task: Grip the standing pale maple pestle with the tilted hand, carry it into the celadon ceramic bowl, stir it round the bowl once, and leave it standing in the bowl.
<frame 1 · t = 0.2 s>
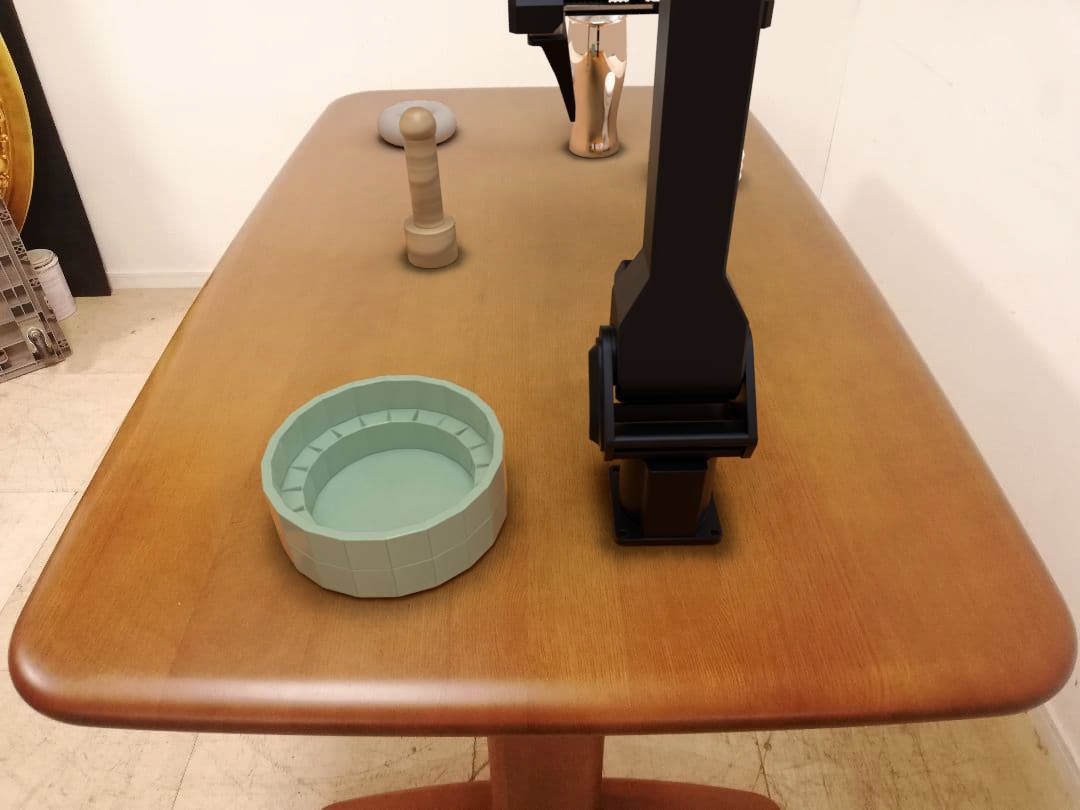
hand: (630, 119, 62), 15 cm above the table, tool pointing down, fingers open, 9 cm apart
pestle: (433, 256, 75), on the table
coaster: (695, 179, 88), on the table
bowl: (396, 510, 50), on the table
beer glass: (593, 149, 95), on the table
donut: (418, 137, 99), on the table
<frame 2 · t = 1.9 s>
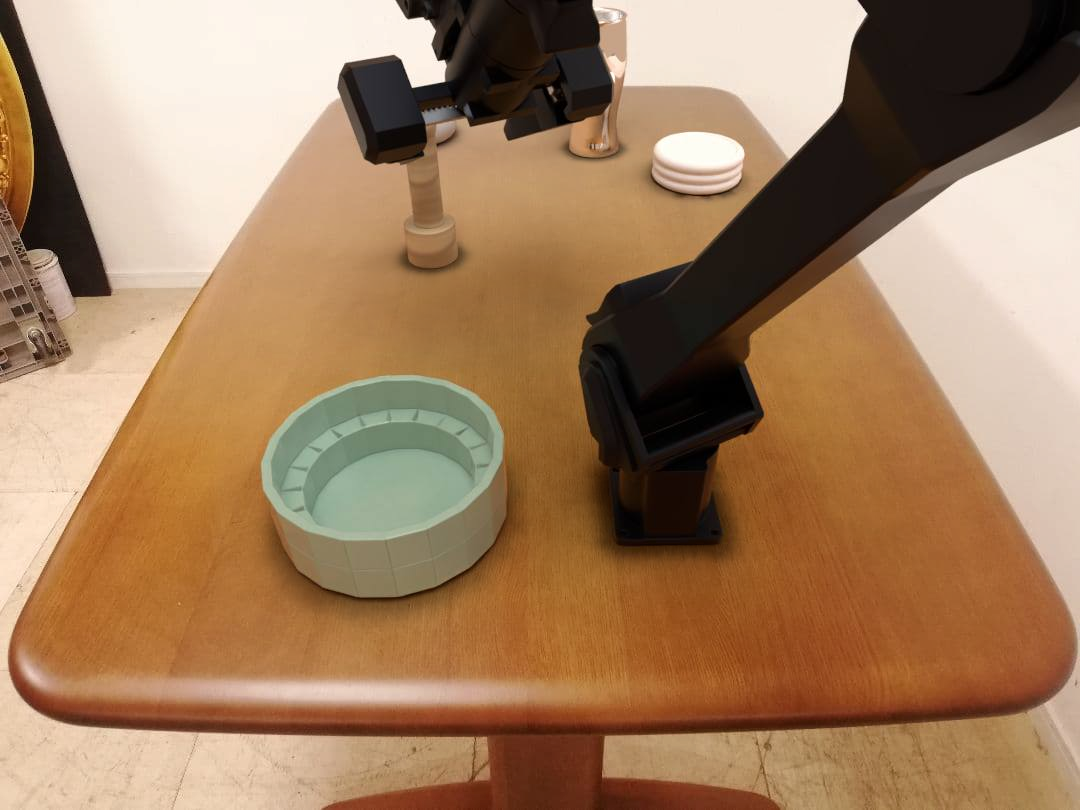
hand: (455, 146, 61), 13 cm above the table, tool tilted 45°, fingers open, 9 cm apart
nothing on the table moved.
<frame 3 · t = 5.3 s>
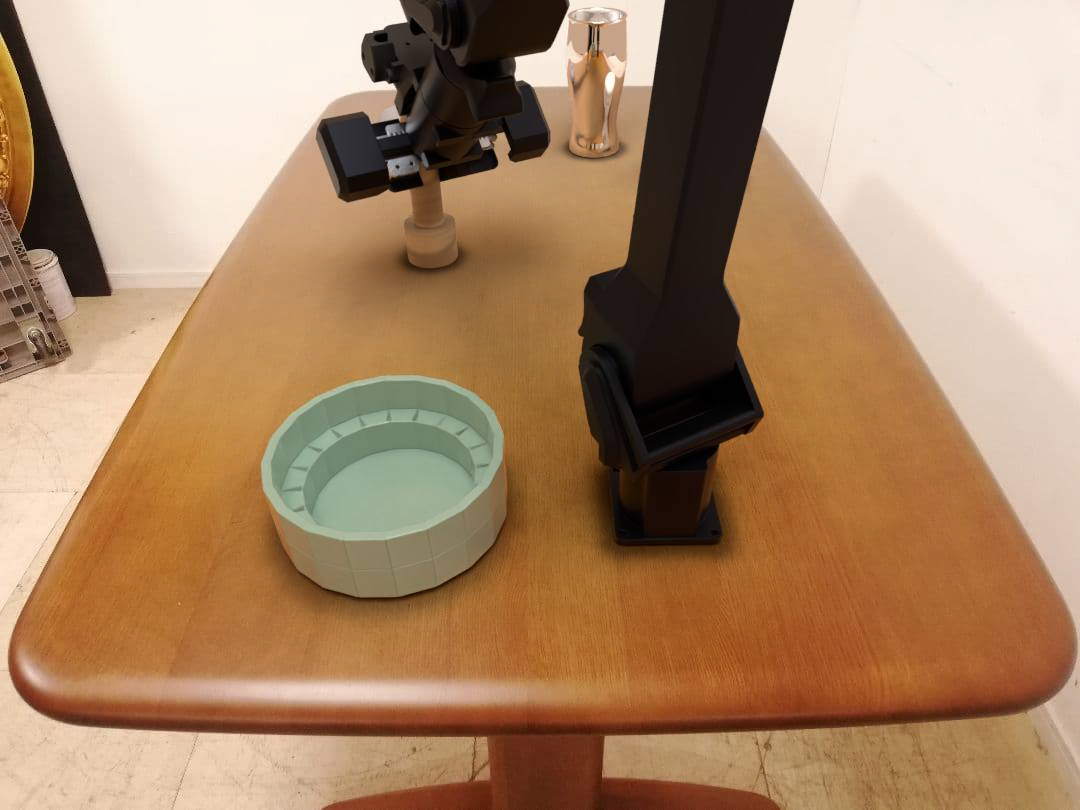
hand: (419, 181, 72), 7 cm above the table, tool tilted 45°, fingers closed on pestle, 3 cm apart
pestle: (433, 256, 75), on the table, touching gripper
everything else where it was.
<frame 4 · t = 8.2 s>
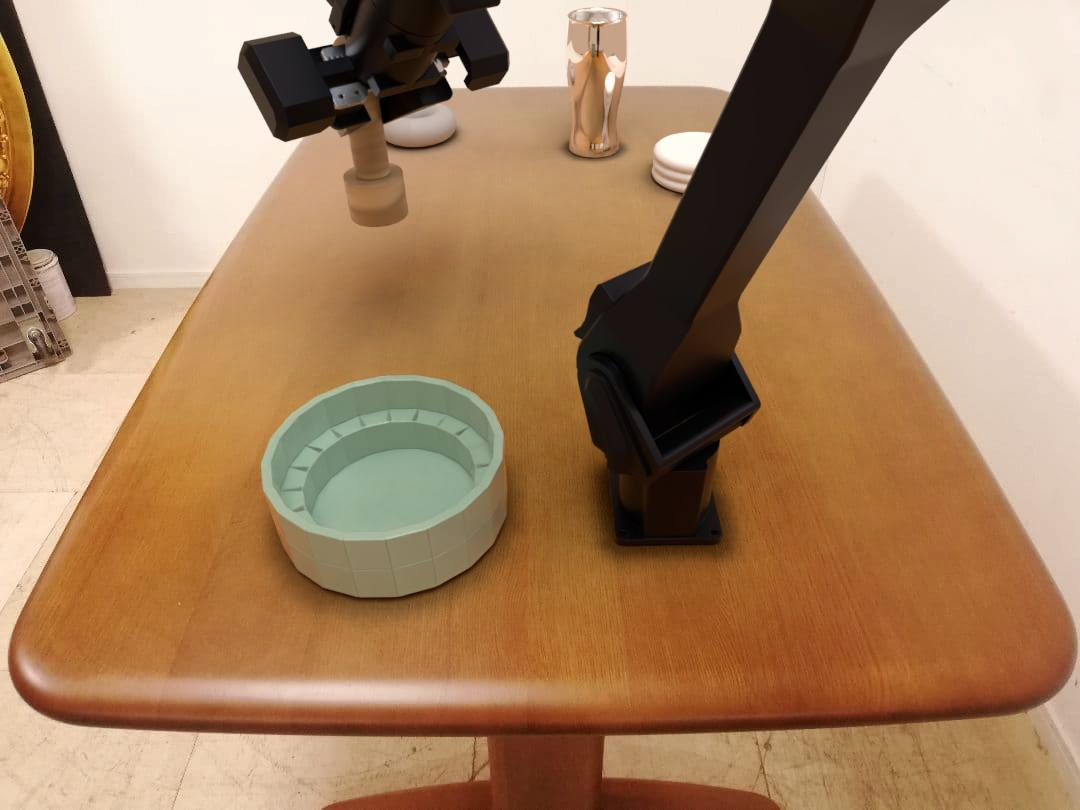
hand: (357, 126, 62), 15 cm above the table, tool tilted 45°, fingers closed on pestle, 3 cm apart
pestle: (379, 214, 65), point 8 cm above the table, touching gripper
everything else where it was.
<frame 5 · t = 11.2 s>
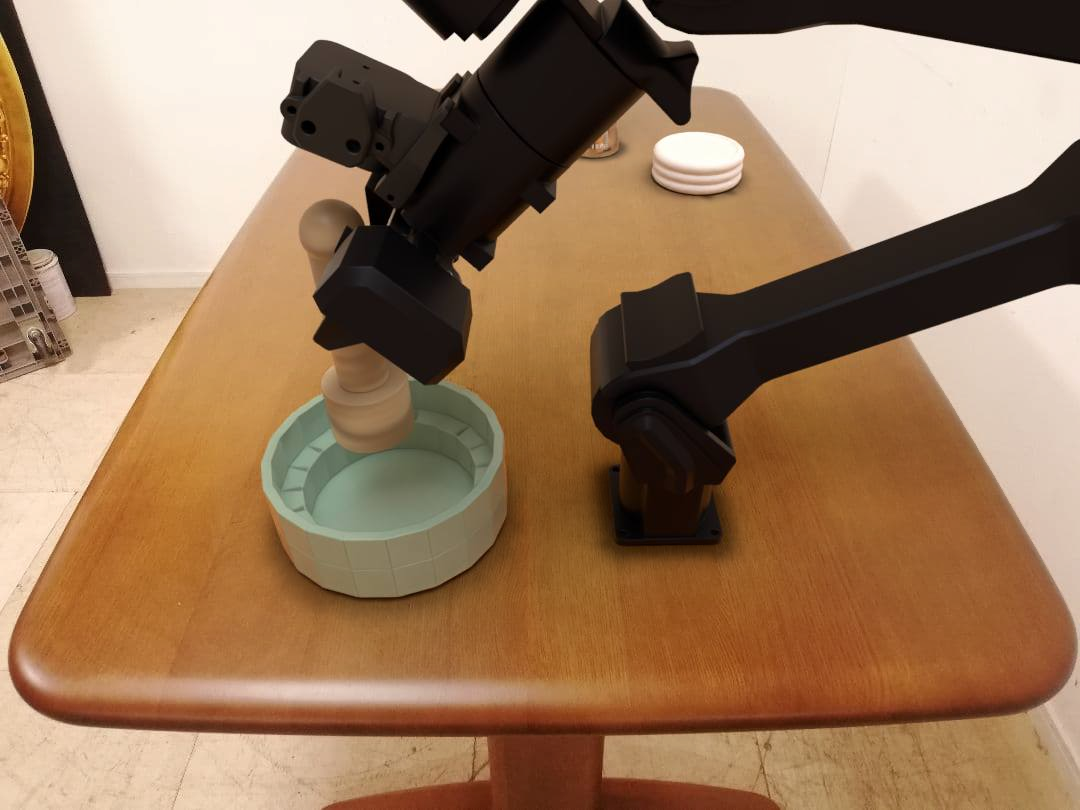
hand: (328, 326, 42), 14 cm above the table, tool tilted 45°, fingers closed on pestle, 3 cm apart
pestle: (374, 425, 46), point 7 cm above the table, touching gripper
everything else where it was.
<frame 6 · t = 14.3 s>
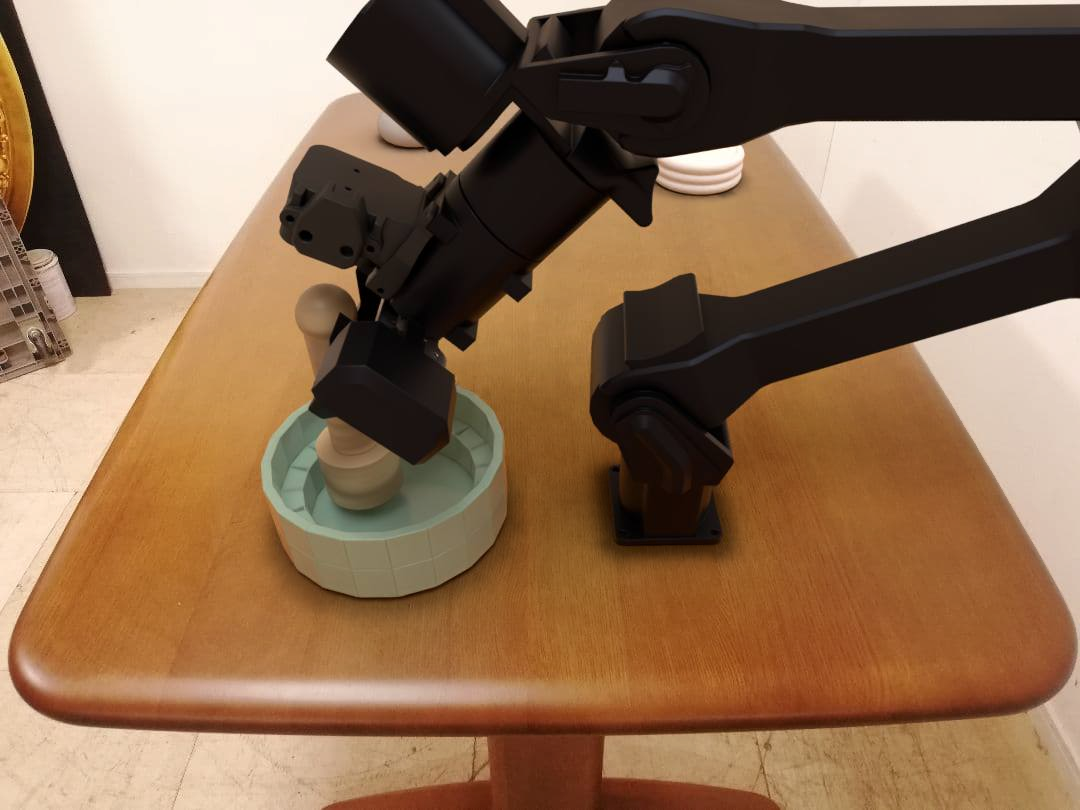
hand: (322, 395, 45), 9 cm above the table, tool tilted 45°, fingers closed on pestle, 3 cm apart
pestle: (365, 481, 49), point 2 cm above the table, touching gripper
everything else where it was.
when the fingers open (8 cm above the table, at t = 17.4 s): pestle stays where it is, resting on bowl.
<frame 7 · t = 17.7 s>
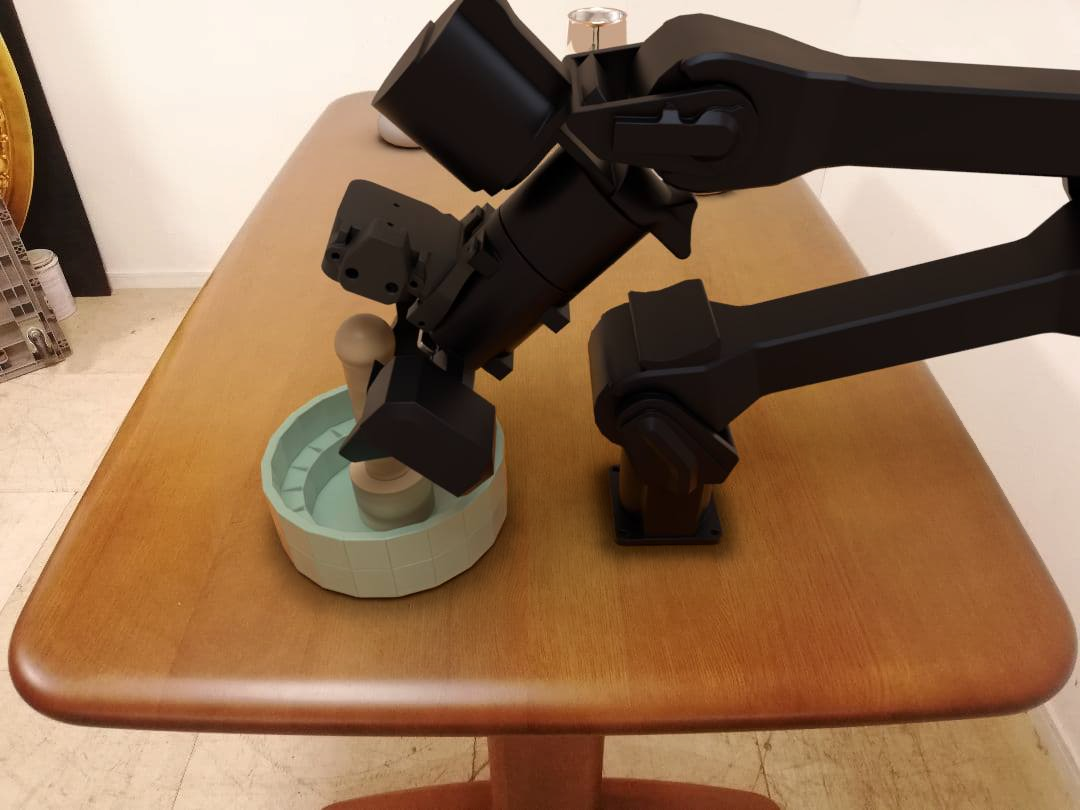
hand: (355, 422, 45), 8 cm above the table, tool tilted 45°, fingers open, 5 cm apart
pestle: (397, 505, 50), resting on bowl
everything else where it was.
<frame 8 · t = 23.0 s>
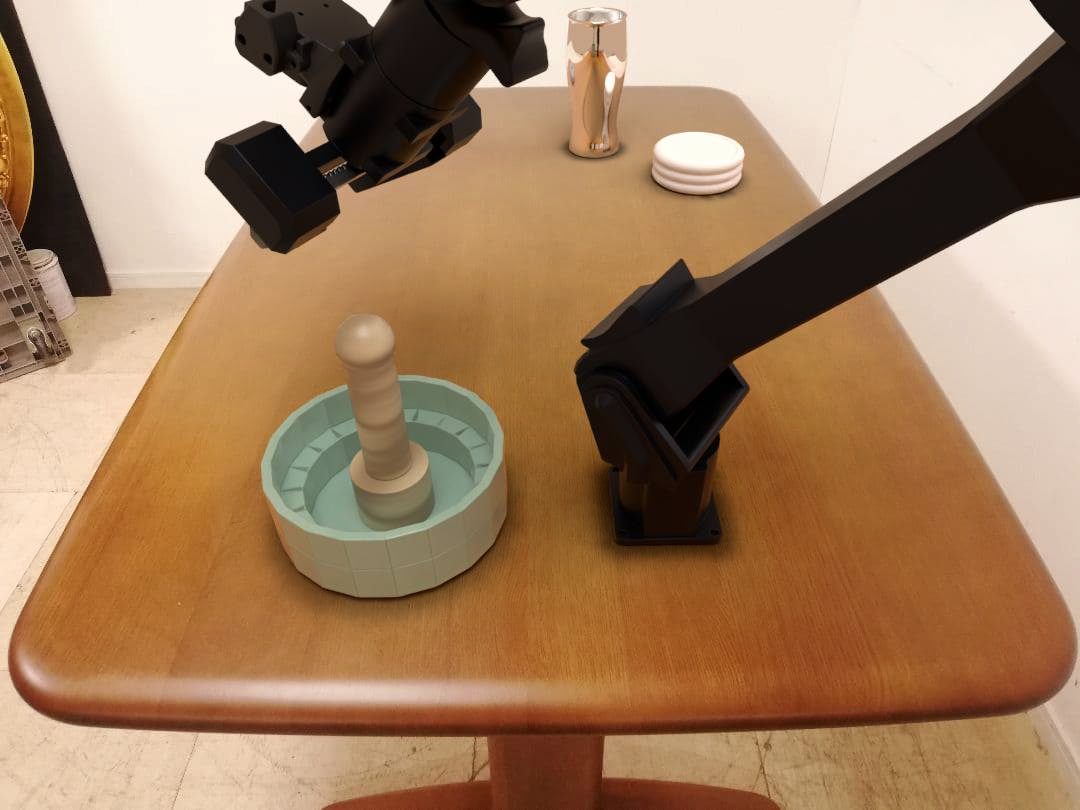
hand: (307, 212, 52), 14 cm above the table, tool tilted 45°, fingers open, 9 cm apart
nothing on the table moved.
at the end: pestle inside the target area in the bowl (0.1 cm from its centre), point 0.5 cm above the bowl's base; pestle tilted 0°; pestle moved 33.0 cm from its start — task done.
